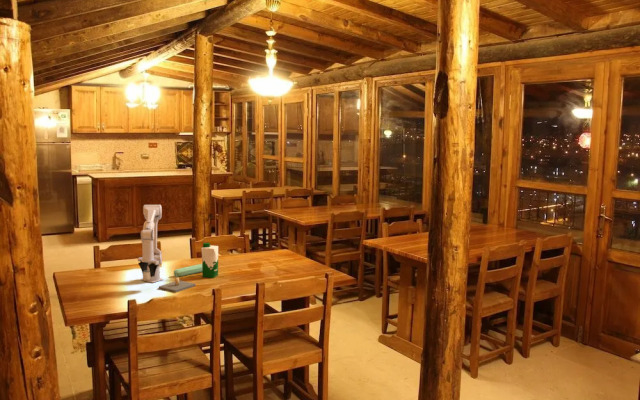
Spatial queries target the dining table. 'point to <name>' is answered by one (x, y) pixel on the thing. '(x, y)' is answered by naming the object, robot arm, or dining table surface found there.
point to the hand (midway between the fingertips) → (148, 275)
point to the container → (188, 270)
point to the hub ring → (147, 275)
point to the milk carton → (209, 260)
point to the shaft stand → (177, 286)
